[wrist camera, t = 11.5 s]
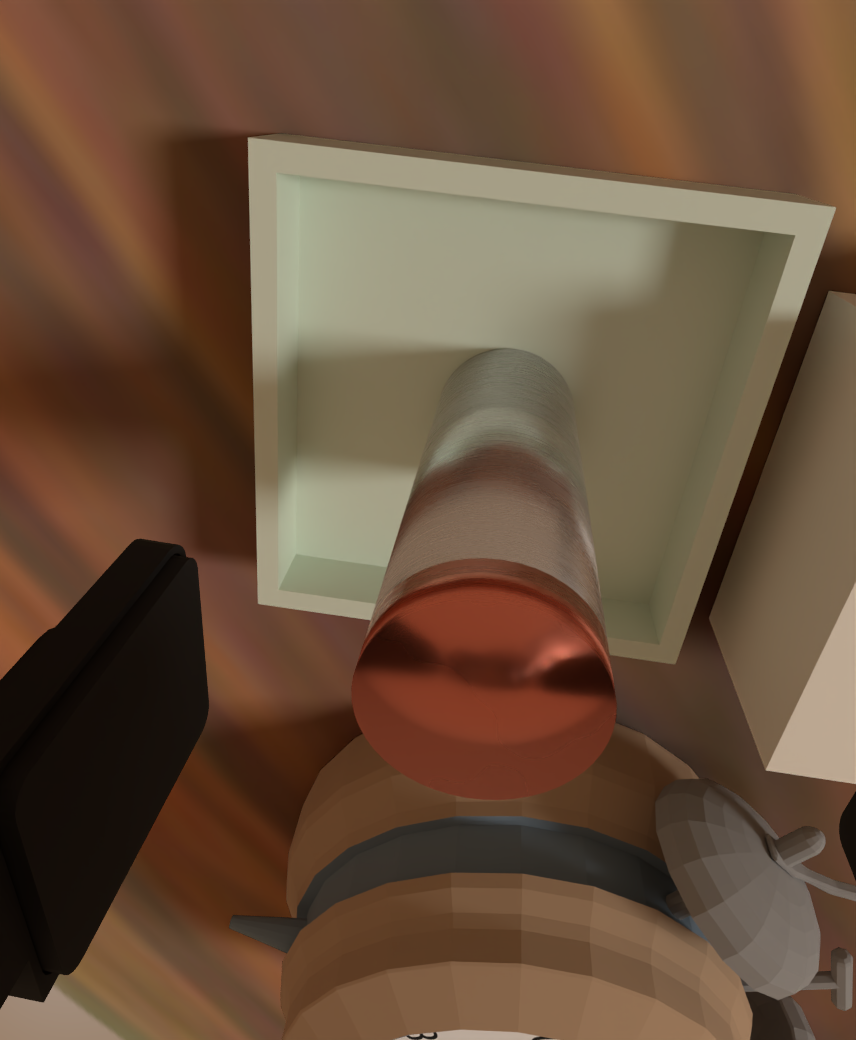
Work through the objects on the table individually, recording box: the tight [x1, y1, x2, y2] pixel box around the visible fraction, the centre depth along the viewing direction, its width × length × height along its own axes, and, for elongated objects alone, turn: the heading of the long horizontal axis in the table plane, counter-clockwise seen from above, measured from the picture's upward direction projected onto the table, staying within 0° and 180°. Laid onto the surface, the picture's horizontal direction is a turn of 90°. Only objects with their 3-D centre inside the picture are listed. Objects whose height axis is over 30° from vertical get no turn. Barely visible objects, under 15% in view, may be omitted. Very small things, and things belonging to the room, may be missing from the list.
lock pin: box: [351, 348, 617, 800], centre depth 15 cm, size 4×4×11 cm
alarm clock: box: [229, 723, 856, 1040], centre depth 25 cm, size 17×9×23 cm
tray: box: [248, 133, 836, 664], centre depth 19 cm, size 12×12×2 cm
